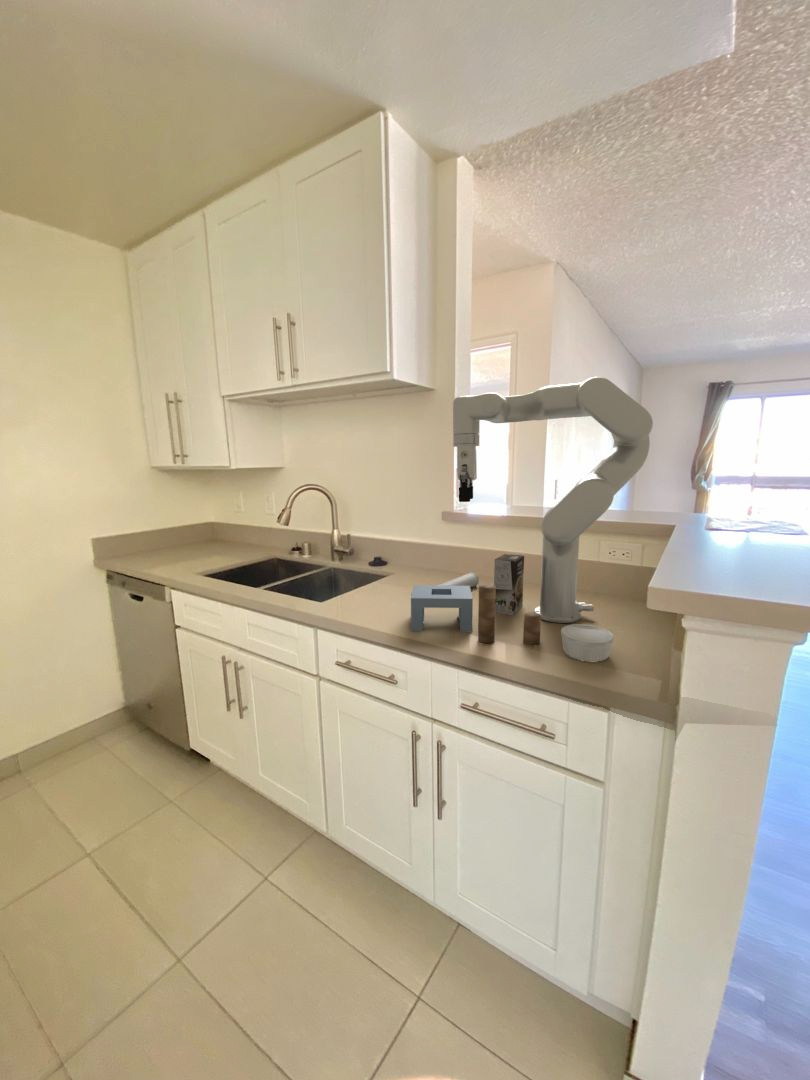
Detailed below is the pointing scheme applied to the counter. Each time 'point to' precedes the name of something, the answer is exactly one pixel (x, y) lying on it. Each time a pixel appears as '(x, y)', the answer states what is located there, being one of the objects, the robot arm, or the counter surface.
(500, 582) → the coffee box
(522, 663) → the counter surface
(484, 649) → the counter surface
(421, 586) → the bridge
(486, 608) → the tall pin
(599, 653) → the ramekin
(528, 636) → the short pin
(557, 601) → the robot arm
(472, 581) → the tube
